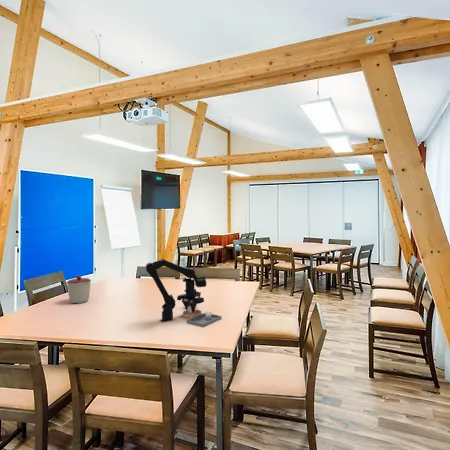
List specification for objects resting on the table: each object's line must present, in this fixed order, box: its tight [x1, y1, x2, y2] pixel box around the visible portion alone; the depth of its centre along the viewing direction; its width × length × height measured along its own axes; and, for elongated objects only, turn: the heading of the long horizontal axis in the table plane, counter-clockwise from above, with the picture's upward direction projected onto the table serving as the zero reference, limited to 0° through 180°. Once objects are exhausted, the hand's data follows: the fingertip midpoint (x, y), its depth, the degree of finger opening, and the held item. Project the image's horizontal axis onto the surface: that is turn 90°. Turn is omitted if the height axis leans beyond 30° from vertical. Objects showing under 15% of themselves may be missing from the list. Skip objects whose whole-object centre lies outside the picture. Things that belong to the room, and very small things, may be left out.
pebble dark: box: [204, 311, 213, 320], centre depth 202 cm, size 4×4×4 cm
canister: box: [65, 274, 92, 304], centre depth 254 cm, size 18×18×21 cm
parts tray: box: [186, 312, 222, 328], centre depth 199 cm, size 18×13×3 cm
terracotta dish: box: [181, 308, 203, 320], centre depth 210 cm, size 12×12×3 cm
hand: (190, 312), depth 208 cm, fingers closed on pebble light, 4 cm apart
